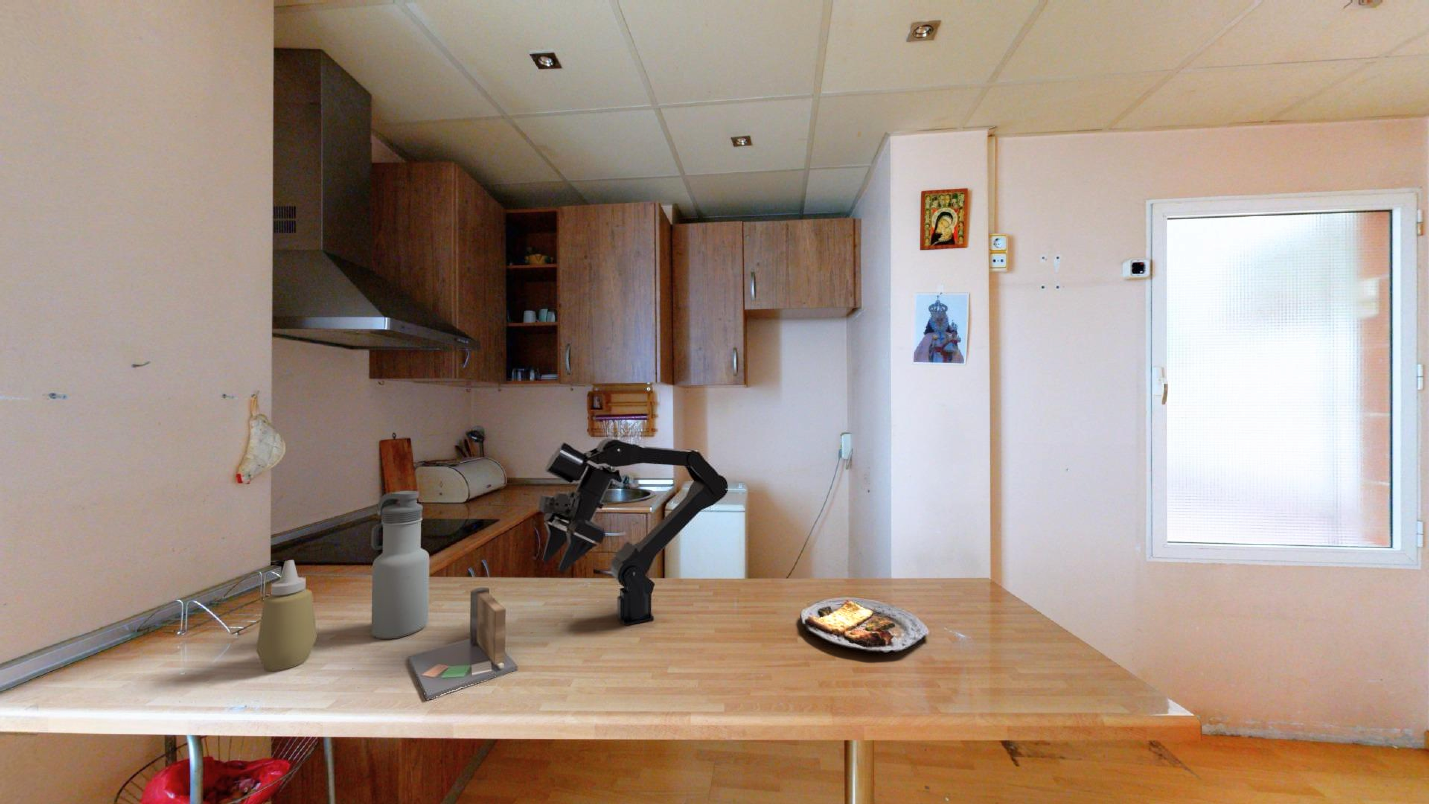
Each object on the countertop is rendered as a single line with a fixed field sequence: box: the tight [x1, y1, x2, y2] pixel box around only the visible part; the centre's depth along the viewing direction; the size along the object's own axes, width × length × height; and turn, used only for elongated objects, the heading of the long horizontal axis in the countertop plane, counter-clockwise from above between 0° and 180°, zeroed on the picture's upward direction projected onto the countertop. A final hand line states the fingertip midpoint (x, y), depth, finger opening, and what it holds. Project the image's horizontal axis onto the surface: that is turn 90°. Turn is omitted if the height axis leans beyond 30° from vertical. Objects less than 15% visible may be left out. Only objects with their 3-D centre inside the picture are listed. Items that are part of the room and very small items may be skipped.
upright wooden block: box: [469, 587, 507, 669], centre depth 87 cm, size 15×3×9 cm, turn 42°
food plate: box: [799, 597, 929, 655], centre depth 99 cm, size 25×23×4 cm
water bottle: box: [370, 490, 430, 640], centre depth 98 cm, size 10×10×28 cm
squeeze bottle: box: [255, 559, 318, 672], centre depth 85 cm, size 8×8×18 cm
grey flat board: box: [407, 638, 518, 700], centre depth 84 cm, size 16×14×1 cm
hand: (552, 566), depth 94 cm, fingers open, 9 cm apart
